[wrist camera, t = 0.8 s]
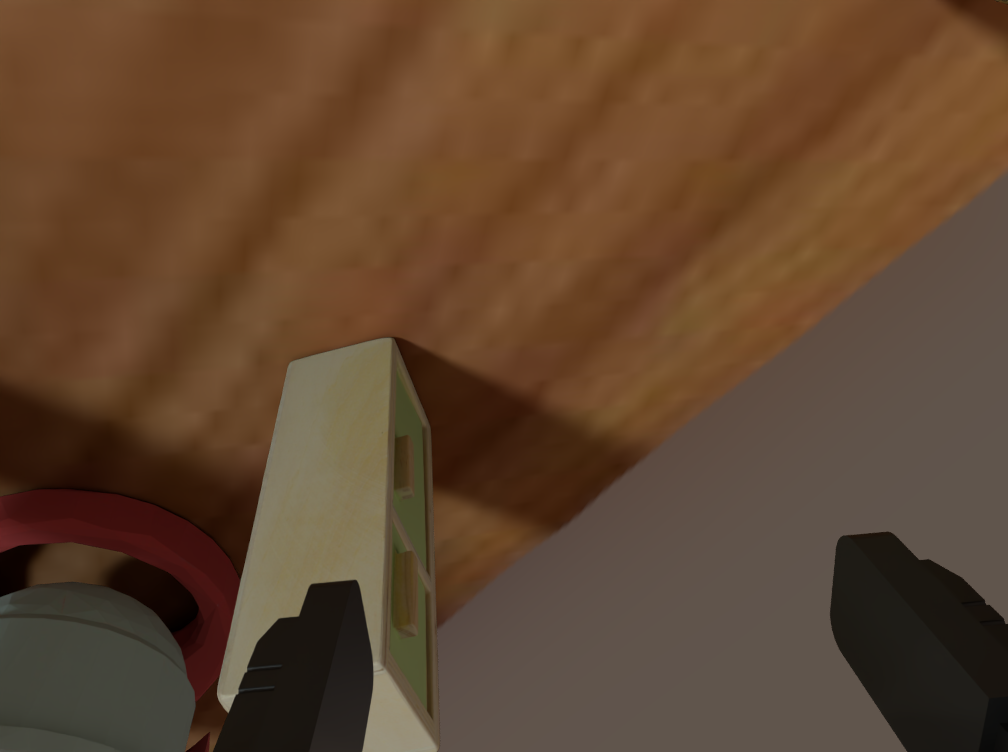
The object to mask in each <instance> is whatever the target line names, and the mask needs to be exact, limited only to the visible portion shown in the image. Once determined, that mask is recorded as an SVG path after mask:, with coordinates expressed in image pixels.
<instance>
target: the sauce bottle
mask: <svg viewBox="0 0 1008 752" xmlns="http://www.w3.org/2000/svg"><path fill="white" fill-rule="evenodd" d="M995 1H997V2H1002V3H1005V4H1008V0H995Z"/></svg>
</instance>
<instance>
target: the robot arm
mask: <svg viewBox="0 0 1008 752" xmlns="http://www.w3.org/2000/svg"><path fill="white" fill-rule="evenodd" d="M830 618H831V625H832V631H833V634H834V638H835V641H836V643H837V645H838V647H839V649H840V651H841V653H842V654H843V656H844V657H845V659H846V660H847V662H848V663H849V665H850V666H851V668H852V669H853V671H854V672H855V674H856V675H857V676H858V678H859V680H860V681H861V683H862V684H863V686H864V687H865V689H866V690H867V692H868V693H869V695H870V696H871V698H872V699H873V701H874V702H875V704H876V705H877V707H878V708H879V710H880V711H881V713H882V714H883V716H884V717H885V719H886V720H887V722H888V723H889V725H890V726H891V728H892V729H893V731H894V732H895V734H896V735H897V737H898V738H899V740H900V741H901V743H902V744H903V746H904V747H905V749H906V750H907V752H1008V624H1005V622H1004V618H1003V617H1002V616H1000V615H999V614H998V613H997V612H996V611H995V610H994V609H993V608H992V607H991V606H990V605H986V604H985V600H984V599H983V598H982V597H981V596H980V595H979V594H978V593H977V592H976V591H975V590H974V589H973V588H972V587H971V586H970V585H969V584H968V583H967V582H966V581H965V580H964V579H963V578H961V577H960V576H958V575H956V574H954V573H952V572H950V571H949V570H947V569H945V568H944V567H942V566H940V565H938V564H936V563H934V562H933V561H931V560H929V559H927V560H919V559H918V558H917V557H916V556H915V555H914V554H913V553H912V552H911V551H910V550H908V548H907V547H906V546H905V545H904V544H903V543H902V542H901V541H900V540H899V539H898V538H897V537H896V536H895V535H894V534H892V533H891V532H879V533H868V534H857V535H846V536H842V537H840V539H839V540H838V543H837V546H836V555H835V566H834V576H833V587H832V598H831V608H830ZM373 678H374V672H373V657H372V650H371V644H370V639H369V634H368V628H367V623H366V617H365V612H364V606H363V601H362V596H361V590H360V586H359V583H358V581H357V580H346V581H335V582H324V583H313V584H311V585H310V586H309V588H308V591H307V594H306V597H305V599H304V602H303V605H302V608H301V611H300V614H299V616H297V617H286V618H279V619H278V620H277V621H276V622H275V623H274V624H273V625H272V626H271V627H270V628H269V629H268V631H267V632H266V633H265V634H264V635H263V636H262V637H261V638H260V639H259V640H258V641H257V643H256V646H255V648H254V651H253V653H252V656H251V658H250V661H249V663H248V666H247V672H245V673H244V676H243V678H242V681H241V683H240V686H239V688H238V694H236V696H235V698H234V701H233V703H232V706H231V708H230V711H229V713H228V715H227V718H226V720H225V723H224V725H223V728H222V730H221V733H220V735H219V738H218V740H217V743H216V745H215V748H214V750H213V752H362V751H363V745H364V740H365V734H366V728H367V722H368V716H369V711H370V705H371V699H372V693H373Z"/></svg>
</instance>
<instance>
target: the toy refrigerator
mask: <svg viewBox="0 0 1008 752" xmlns="http://www.w3.org/2000/svg"><path fill="white" fill-rule="evenodd" d="M346 580H357V581H358V583H359V586H360V590H361V596H362V601H363V606H364V612H365V617H366V623H367V628H368V634H369V639H370V644H371V650H372V657H373V672H374V678H373V693H372V699H371V705H370V711H369V716H368V722H367V728H366V734H365V740H364V745H363V751H362V752H437V751H438V750H439V748H440V718H439V688H438V650H437V621H436V589H435V555H434V515H433V478H432V446H431V428H430V425H429V422H428V419H427V417H426V415H425V412H424V410H423V407H422V405H421V402H420V400H419V398H418V395H417V393H416V390H415V388H414V385H413V383H412V380H411V378H410V376H409V373H408V371H407V368H406V366H405V364H404V361H403V359H402V356H401V354H400V351H399V349H398V346H397V344H396V342H395V340H394V338H392V337H391V338H381V339H376V340H372V341H368V342H364V343H360V344H356V345H352V346H348V347H344V348H340V349H336V350H332V351H328V352H324V353H321V354H317V355H313V356H309V357H306V358H302V359H298V360H295V361H292V362H290V364H289V366H288V370H287V374H286V379H285V383H284V388H283V393H282V397H281V402H280V406H279V410H278V415H277V420H276V424H275V429H274V434H273V438H272V443H271V447H270V452H269V456H268V460H267V465H266V470H265V474H264V478H263V483H262V488H261V492H260V496H259V502H258V507H257V511H256V516H255V520H254V525H253V529H252V534H251V539H250V543H249V548H248V552H247V556H246V561H245V565H244V570H243V574H242V578H241V582H240V587H239V592H238V596H237V601H236V606H235V610H234V615H233V620H232V624H231V629H230V634H229V638H228V642H227V647H226V651H225V656H224V660H223V664H222V669H221V673H220V678H219V683H218V689H217V696H218V699H219V701H220V703H221V704H222V706H223V708H224V709H225V710H226V711H227V712H228V713H229V711H230V708H231V706H232V703H233V701H234V698H235V696H236V694H238V688H239V686H240V683H241V681H242V678H243V676H244V673H245V672H247V666H248V663H249V661H250V658H251V656H252V653H253V651H254V648H255V646H256V643H257V641H258V640H259V639H260V638H261V637H262V636H263V635H264V634H265V633H266V632H267V631H268V629H269V628H270V627H271V626H272V625H273V624H274V623H275V622H276V621H277V620H278V619H279V618H286V617H297V616H299V614H300V611H301V608H302V605H303V602H304V599H305V597H306V594H307V591H308V588H309V586H310V585H311V584H313V583H324V582H335V581H346Z"/></svg>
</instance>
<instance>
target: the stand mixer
mask: <svg viewBox="0 0 1008 752" xmlns="http://www.w3.org/2000/svg"><path fill="white" fill-rule="evenodd" d="M65 542H74V543H79V544H84V545H89V546H94V547H99V548H104V549H109V550H114V551H119V552H123V553H125V554H127V555H130V556H132V557H134V558H137V559H139V560H141V561H144V562H146V563H148V564H151V565H153V566H155V567H157V568H160V569H162V570H164V571H167V572H168V573H170V574H171V575H172V576H173V577H174V578H175V579H176V580H177V581H179V582H180V583H181V584H182V585H183V586H184V587H185V588H186V589H187V590H188V591H189V592H191V594H192V595H193V597H194V599H195V601H196V602H197V604H198V606H199V612H198V614H197V616H196V618H195V619H194V620H193V621H192V622H190V623H189V624H188V625H186V626H185V627H184V628H182V629H181V630H179V631H176V632H172V633H171V632H170V631H169V629H168V628H167V627H166V626H165V624H164V623H163V622H162V620H161V619H160V618H159V617H158V616H157V614H156V613H155V612H154V611H153V610H151V609H150V608H148V607H147V606H145V605H143V604H142V603H140V602H139V601H137V600H136V599H134V598H132V597H131V596H128V595H126V594H123V593H121V592H118V591H116V590H113V589H111V588H108V587H106V586H100V585H93V584H85V583H78V582H65V583H52V584H40V585H35V586H32V587H29V588H26V589H23V590H20V591H17V592H14V593H11V594H8V595H5V596H2V597H0V752H185V748H186V744H187V740H188V736H189V732H190V727H191V723H192V719H193V715H194V711H195V702H196V701H198V700H199V699H200V697H201V696H202V695H203V694H204V693H205V692H206V691H207V689H208V688H209V687H210V686H211V685H212V684H213V682H214V681H215V680H216V679H217V678H218V677H219V676H220V673H221V669H222V664H223V660H224V656H225V651H226V647H227V642H228V638H229V634H230V629H231V624H232V620H233V615H234V610H235V606H236V601H237V596H238V592H239V587H240V579H239V577H238V575H237V573H236V571H235V569H234V567H233V565H232V563H231V561H230V559H229V558H228V557H227V555H226V554H225V553H224V552H223V551H222V550H221V548H220V547H219V546H218V545H217V544H216V543H215V542H214V540H213V539H211V538H210V537H209V536H207V535H206V534H205V533H203V532H202V531H201V530H199V529H198V528H197V527H195V526H194V525H193V524H191V523H190V522H189V521H187V520H185V519H183V518H180V517H178V516H176V515H174V514H172V513H170V512H168V511H166V510H164V509H162V508H160V507H158V506H156V505H153V504H150V503H146V502H143V501H139V500H136V499H132V498H128V497H125V496H121V495H118V494H110V493H101V492H92V491H84V490H75V489H37V490H32V491H27V492H22V493H17V494H12V495H7V496H2V497H0V553H1V552H4V551H6V550H9V549H11V548H14V547H16V546H19V545H31V544H48V543H65ZM209 739H210V732H209V733H208V734H206V735H205V736H204V737H203V738H202V739H201V740H200V741H199V742H197V743H196V744H195V745H194V746H193V747H191V748H190V749H189V750H187V751H186V752H208V751H209Z"/></svg>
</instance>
